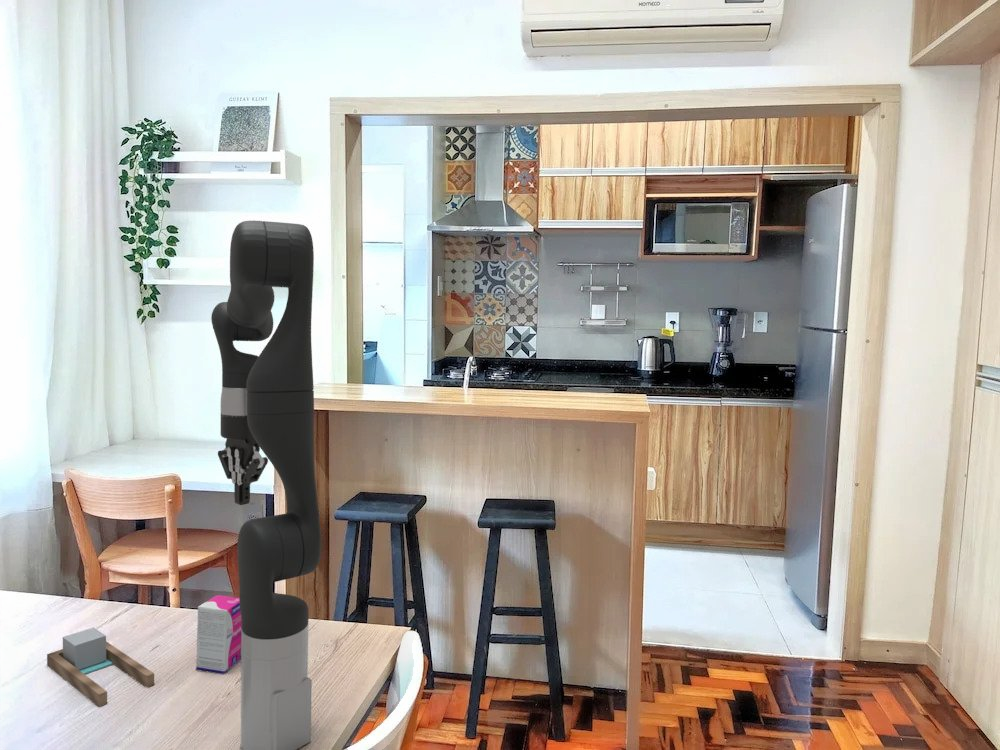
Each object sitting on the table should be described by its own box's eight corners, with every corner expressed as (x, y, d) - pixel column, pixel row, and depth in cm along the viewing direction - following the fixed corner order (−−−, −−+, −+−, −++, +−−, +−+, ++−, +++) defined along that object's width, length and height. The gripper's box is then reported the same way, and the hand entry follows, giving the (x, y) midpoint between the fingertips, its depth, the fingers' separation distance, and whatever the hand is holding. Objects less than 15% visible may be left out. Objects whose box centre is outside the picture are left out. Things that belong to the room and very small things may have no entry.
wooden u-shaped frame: (154, 684, 114) (154, 673, 114) (99, 706, 107) (98, 694, 107) (99, 647, 126) (99, 637, 126) (47, 665, 119) (47, 654, 119)
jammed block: (106, 660, 120) (106, 635, 120) (75, 671, 116) (74, 645, 116) (93, 651, 123) (93, 627, 123) (62, 661, 119) (62, 637, 119)
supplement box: (225, 675, 118) (226, 610, 117) (195, 670, 119) (195, 606, 118) (244, 659, 123) (245, 597, 123) (215, 655, 125) (215, 593, 124)
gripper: (281, 413, 125) (281, 506, 126) (240, 406, 133) (239, 493, 134) (245, 416, 119) (244, 514, 120) (203, 409, 127) (203, 501, 128)
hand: (242, 503), depth 127 cm, fingers closed
